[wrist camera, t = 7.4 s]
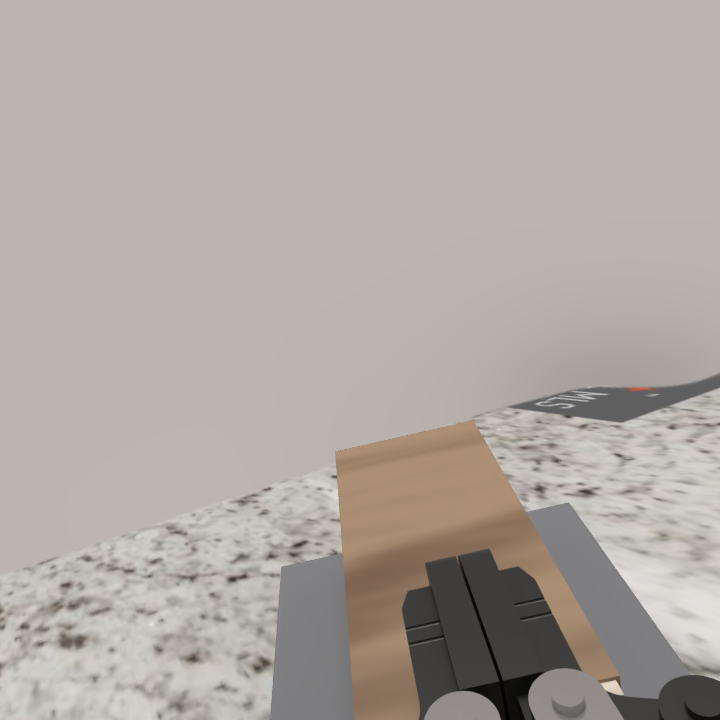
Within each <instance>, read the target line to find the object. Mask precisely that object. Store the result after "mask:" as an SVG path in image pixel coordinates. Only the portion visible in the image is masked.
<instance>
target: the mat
mask: <svg viewBox="0 0 720 720" xmlns="http://www.w3.org/2000/svg"><path fill="white" fill-rule="evenodd" d="M526 513H527V515H528V517H529V518H530V520H531V522H532V524H533V525H534V527H535V529H536V531H537V532H538V534H539V536H540V537H541V539H542V541H543V543H544V544H545V546H546V548H547V550H548V551H549V553H550V555H551V557H552V558H553V560H554V562H555V564H556V565H557V567H558V569H559V571H560V572H561V574H562V576H563V578H564V579H565V581H566V583H567V584H568V586H569V588H570V590H571V591H572V593H573V595H574V597H575V598H576V600H577V602H578V604H579V605H580V607H581V609H582V611H583V612H584V614H585V616H586V618H587V619H588V621H589V623H590V624H591V626H592V628H593V630H594V631H595V633H596V635H597V637H598V638H599V640H600V642H601V644H602V645H603V647H604V649H605V651H606V652H607V654H608V656H609V658H610V659H611V661H612V663H613V665H614V666H615V668H616V670H617V671H618V673H619V675H620V683H621V690H622V692H623V694H624V696H627V697H638V698H652V699H658V697H659V693H660V691H661V689H662V688H663V686H664V685H665V684H666V683H668V682H669V681H670V680H672V679H674V678H677V677H681V676H687V675H691V674H690V673H689V671H688V670H687V668H686V667H685V666H684V664H683V663H682V661H681V660H680V659H679V657H678V656H677V654H676V653H675V652H674V650H673V649H672V647H671V646H670V644H669V643H668V642H667V640H666V639H665V637H664V636H663V635H662V633H661V632H660V630H659V629H658V628H657V626H656V625H655V623H654V622H653V620H652V619H651V618H650V616H649V615H648V613H647V612H646V611H645V609H644V608H643V606H642V605H641V604H640V602H639V601H638V599H637V598H636V596H635V595H634V594H633V592H632V591H631V589H630V588H629V587H628V585H627V584H626V582H625V581H624V580H623V578H622V577H621V575H620V574H619V572H618V571H617V570H616V568H615V567H614V565H613V564H612V563H611V561H610V560H609V558H608V557H607V556H606V554H605V553H604V551H603V550H602V549H601V547H600V546H599V544H598V543H597V541H596V540H595V539H594V537H593V536H592V534H591V533H590V532H589V530H588V529H587V527H586V526H585V525H584V523H583V522H582V520H581V519H580V517H579V516H578V515H577V513H576V512H575V510H574V509H573V508H572V506H571V505H570V503H565V504H560V505H556V506H551V507H547V508H543V509H538V510H534V511H529V512H526ZM270 720H355V715H354V701H353V688H352V674H351V660H350V646H349V633H348V619H347V605H346V591H345V578H344V564H343V553H342V554H337V555H333V556H328V557H324V558H319V559H315V560H311V561H306V562H302V563H297V564H293V565H288V566H284V567H281V581H280V594H279V608H278V621H277V635H276V649H275V662H274V676H273V689H272V703H271V716H270Z"/></svg>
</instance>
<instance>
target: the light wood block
mask: <svg viewBox="0 0 720 720" xmlns="http://www.w3.org/2000/svg"><path fill="white" fill-rule="evenodd" d="M335 453H336V468H337V481H338V495H339V509H340V523H341V536H342V550H343V564H344V578H345V591H346V605H347V619H348V633H349V646H350V660H351V674H352V688H353V701H354V715H355V720H419V716H420V703H419V698H418V693H417V688H416V682H415V677H414V672H413V667H412V661H411V656H410V651H409V645H408V640H407V635H406V629H405V625H404V619H403V614H402V606H403V603H404V600H405V597H406V594H407V591H409V590H414V589H418V588H423V587H427V586H429V581H428V576H427V572H426V567H425V562H430V561H434V560H439V559H443V558H448V557H452V556H456V558H457V560H458V555H462V554H466V553H471V552H475V551H480V550H484V549H490V551H491V553H492V555H493V557H494V560H495V562H496V564H497V567H498V569H499V570H504V569H508V568H513V567H517V566H519V567H520V568H521V569H523V570H524V571H525V572H526V573H528V574H529V575H530V576H532V577H533V578H534V579H535V580H536V582H537V584H538V586H539V588H540V590H541V592H542V594H543V596H544V598H545V600H546V601H547V603H548V605H549V607H550V609H551V611H552V615H554V617H555V619H556V621H557V623H558V625H559V627H560V629H561V631H562V633H563V635H564V637H565V639H566V641H567V643H568V645H569V647H570V649H571V651H572V652H573V654H574V656H575V658H576V660H577V662H578V664H579V666H580V668H581V670H582V671H583V672H584V673H586V674H588V675H590V676H592V677H593V678H595V679H596V680H597V681H598V682H599V683H600V684H601V685H602V686H603V687H604V689H605V690H606V691H608V692H611V693H614V694H617V695H621V696H624V694H623V692H622V690H621V683H620V675H619V673H618V671H617V670H616V668H615V666H614V665H613V663H612V661H611V659H610V658H609V656H608V654H607V652H606V651H605V649H604V647H603V645H602V644H601V642H600V640H599V638H598V637H597V635H596V633H595V631H594V630H593V628H592V626H591V624H590V623H589V621H588V619H587V618H586V616H585V614H584V612H583V611H582V609H581V607H580V605H579V604H578V602H577V600H576V598H575V597H574V595H573V593H572V591H571V590H570V588H569V586H568V584H567V583H566V581H565V579H564V578H563V576H562V574H561V572H560V571H559V569H558V567H557V565H556V564H555V562H554V560H553V558H552V557H551V555H550V553H549V551H548V550H547V548H546V546H545V544H544V543H543V541H542V539H541V537H540V536H539V534H538V532H537V531H536V529H535V527H534V525H533V524H532V522H531V520H530V518H529V517H528V515H527V513H526V511H525V510H524V508H523V506H522V504H521V503H520V501H519V499H518V497H517V496H516V494H515V492H514V491H513V489H512V487H511V485H510V484H509V482H508V480H507V478H506V477H505V475H504V473H503V471H502V470H501V468H500V466H499V464H498V463H497V461H496V459H495V457H494V456H493V454H492V452H491V451H490V449H489V447H488V445H487V444H486V442H485V440H484V438H483V437H482V435H481V433H480V431H479V430H478V428H477V426H476V424H475V423H474V421H469V422H464V423H460V424H455V425H451V426H446V427H442V428H438V429H433V430H429V431H424V432H420V433H416V434H411V435H406V436H402V437H398V438H393V439H389V440H384V441H380V442H375V443H371V444H366V445H362V446H358V447H353V448H349V449H344V450H340V451H336V452H335ZM458 563H459V562H458Z"/></svg>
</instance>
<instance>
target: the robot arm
mask: <svg viewBox="0 0 720 720" xmlns="http://www.w3.org/2000/svg"><path fill="white" fill-rule="evenodd" d="M458 562H459V563H458ZM425 567H426V572H427V576H428V581H429V586H427V587H423V588H418V589H414V590H409V591H407V594H406V597H405V600H404V603H403V606H402V614H403V619H404V625H405V629H406V635H407V640H408V645H409V651H410V656H411V661H412V667H413V672H414V677H415V682H416V688H417V693H418V698H419V703H420V716H419V720H720V681H717V680H715V679H712V678H709V677H705V676H698V675H687V676H681V677H677V678H674V679H672V680H670V681H669V682H668V683H666V684H665V685H664V686H663V688H662V689H661V691H660V693H659V697H658V699H652V698H638V697H627V696H621V695H617V694H614V693H611V692H608V691H606V690H605V689H604V687H603V686H602V685H601V684H600V683H599V682H598V681H597V680H596V679H595V678H593V677H592V676H590V675H588V674H586V673H584V672H583V671H582V670H581V668H580V666H579V664H578V662H577V660H576V658H575V656H574V654H573V652H572V651H571V649H570V647H569V645H568V643H567V641H566V639H565V637H564V635H563V633H562V631H561V629H560V627H559V625H558V623H557V621H556V619H555V617H554V615H552V611H551V609H550V607H549V605H548V603H547V601H546V600H545V598H544V596H543V594H542V592H541V590H540V588H539V586H538V584H537V582H536V580H535V579H534V578H533V577H532V576H530V575H529V574H528V573H526V572H525V571H524V570H523V569H521V568H520V567H519V566H517V567H513V568H508V569H504V570H499V569H498V567H497V564H496V562H495V560H494V557H493V555H492V553H491V551H490V549H484V550H480V551H475V552H471V553H466V554H462V555H458V560H457V558H456V556H452V557H448V558H443V559H439V560H434V561H430V562H425Z"/></svg>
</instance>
